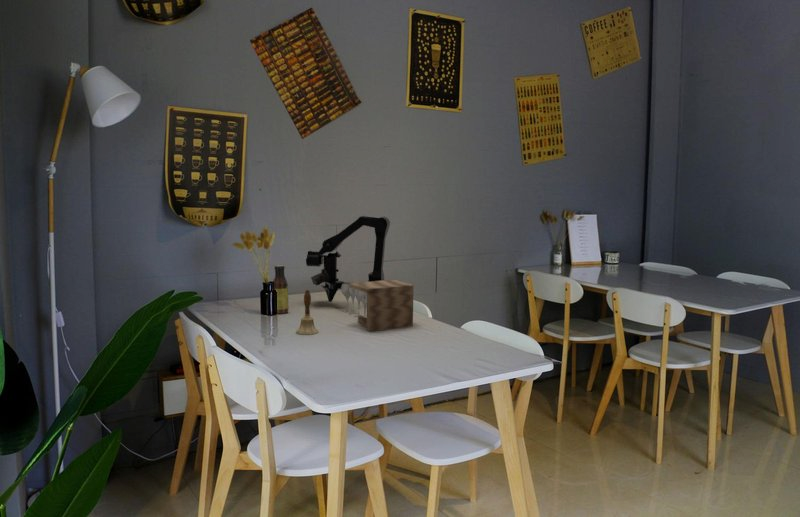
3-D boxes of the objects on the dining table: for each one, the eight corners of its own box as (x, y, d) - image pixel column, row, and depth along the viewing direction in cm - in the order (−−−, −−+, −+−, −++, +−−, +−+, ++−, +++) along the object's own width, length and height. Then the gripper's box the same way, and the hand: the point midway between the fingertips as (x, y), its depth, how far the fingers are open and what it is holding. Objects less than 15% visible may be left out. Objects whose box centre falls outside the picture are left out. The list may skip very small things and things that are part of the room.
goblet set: (380, 322, 266) (380, 289, 264) (367, 324, 263) (367, 290, 261) (350, 309, 290) (350, 279, 288) (338, 310, 287) (338, 279, 286)
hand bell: (322, 331, 251) (322, 289, 248) (310, 336, 243) (310, 292, 241) (303, 328, 254) (303, 287, 252) (291, 333, 247) (291, 290, 244)
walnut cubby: (392, 318, 274) (392, 279, 272) (412, 325, 261) (413, 285, 259) (349, 323, 263) (349, 283, 261) (368, 331, 250) (369, 289, 248)
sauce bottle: (291, 312, 281) (291, 265, 279) (279, 314, 277) (279, 267, 274) (282, 310, 286) (281, 264, 283) (269, 312, 281) (269, 265, 278)
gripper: (304, 265, 299) (304, 299, 301) (323, 271, 283) (323, 307, 285) (326, 263, 305) (326, 297, 307) (346, 269, 289) (346, 304, 291)
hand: (330, 301), depth 297 cm, fingers closed
